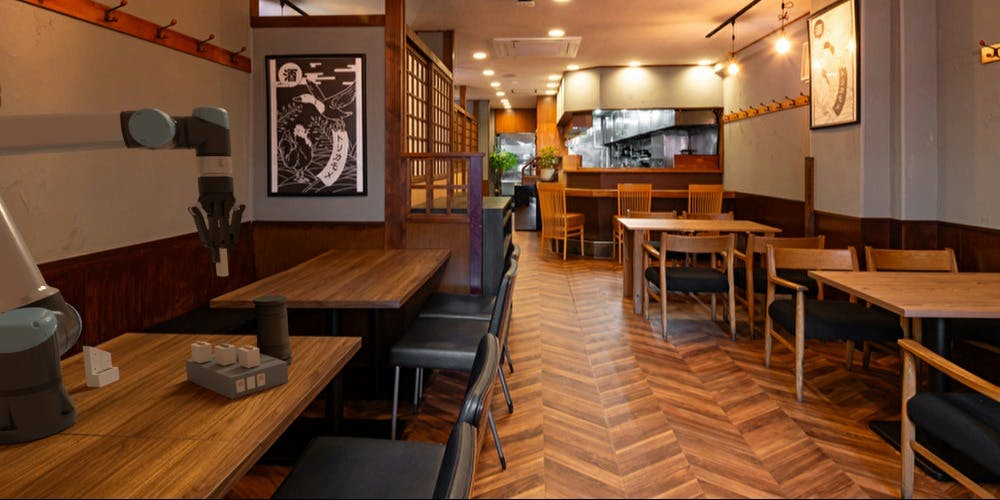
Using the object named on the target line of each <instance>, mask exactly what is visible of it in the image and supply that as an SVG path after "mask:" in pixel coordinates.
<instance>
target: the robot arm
mask: <svg viewBox="0 0 1000 500" xmlns="http://www.w3.org/2000/svg"><path fill="white" fill-rule="evenodd" d="M231 141H232V139H231V128H230V119H229V113H228V111H227V110H226V109H224V108H222V107H217V106H216V107H214V106H203V107H202V106H198V107H197V106H196V107H194V108H193V109H192V111H191V115H188V116H187V115H185V116H183V115H181V116H180V115H179V116H178V115H169V114H167V113H166V112H165V111H163V110H161V109H158V108H154V107H152V108H151V107H150V108H149V107H143V108H141V109H137V110H123V111H122V110H112V111H88V112H87V111H85V112H84V111H83V112H61V113H59V112H58V113H56V112H55V113H34V114H31V113H29V114H10V115H9V114H3V115H1V114H0V157H11V156H25V155H26V156H27V155H42V154H43V155H44V154H45V155H46V154H47V155H48V154H61V153H62V154H63V153H76V152H77V153H79V152H80V153H81V152H93V151H94V152H95V151H96V152H97V151H111V150H112V151H114V150H127V149H132V150H133V149H139V150H146V151H147V150H148V151H157V150H158V151H159V150H160V151H161V150H164V151H166V150H176V151H177V150H188V151H191V150H195V162H196V163H195V164H196V173H197V175H199V177H198V178H197V188H198V189H197V190H198V198H197V202H196V203H195V204H194V205H192V206H188V207H187V211H188V212H189V213H190V215H191V216H192V218H193V221H194V224H195V227H196V230H197V233H198V236H199V239H200V242H201V244H202V247H204V248H209V249H210V251H211V260H212V263H215V267H216V269H215V270H216V276H217V277H222V278H223V277H229V274H230V273H229V263H228V262H230V261H231V257H232V256H231V248H232V247H233V246H234V245H237V244H238V243H239V237H240V231H241V225H242V217H243V214H244V212H245V210H246V208H247V206H246V204H244V203H242V204H241V202H238V201H237V198H236V197H235V194H234V191H235V187H234V178H233V176H231V175H232V174H233V161H232V160H233V158H232V144H231V143H232V142H231ZM8 209H9V208H8V207H7V205H6V204H5V202H4V200H3V197H2V195H0V445H10V444H19V443H20V444H21V443H25V442H30V441H34V440H39V439H43V438H45V437H48V436H52V435H55V434H57V433H60V432H62V431H64V430H66V429H68V428H70V427H71V426H73V425H74V424H75V423H76V422H77V421H78V414H77V408H76V405H75V403H74V402H73V400H72V398H71V397H70V395H69V393H68V391H67V389H66V387H65V386H64V382H63V375H62V374H63V372H62V363H61V362H62V361H61V356H63V354H65V353H66V352H68V351H69V350H70V349H72V348H73V347H74V345H75V344H76V342H78V339H79V337H80V335H81V333H82V328H83V327H82V326H83V324H82V323H83V322H82V318H81V315H80V313H79V312H78V311H77V310H76V309H75V307H74V306H72V305H71V304H69V303H67V302H66V301H65V299H64V297H63V295H62V293H61V291H60V290H59V289H58V288H56V287H52V286H49V285H48V284H47V283H46V281H45V279H44V276H43V274H42V272H41V271H40V268H39V267H38V266H37V265H38V264H37V263H36V261H35V259H34V258H33V256H32V253H31V251H30V250H29V249H30V248H28V245H27V243H26V242H25V240H24V238H23V235H21V232H20V230H19V229H18V226H17V224H16V223H15V221H14V219H13V217H12V215H11V213H10V211H9V210H8ZM231 210H233V211H232V214H231V215H230V213H231ZM203 211H204V212H205V214H206V219H207V223H208V225H207V224H206V220H205V218H204V215H203V213H202V212H203ZM230 217H231V220H230Z"/></svg>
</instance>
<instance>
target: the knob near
mask: <svg viewBox="0 0 1000 500" xmlns="http://www.w3.org/2000/svg"><path fill="white" fill-rule="evenodd" d="M241 347H242V346H241ZM238 352H239V365H241V366H244V367H247V368H250V367H254V366H258V365H260V354H259V348H257V346H254V345H247V344H244V345H243V347H242V348H238Z"/></svg>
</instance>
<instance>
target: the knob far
mask: <svg viewBox="0 0 1000 500" xmlns="http://www.w3.org/2000/svg"><path fill="white" fill-rule="evenodd" d="M190 347H191V359H192V360H193V361H196V362H198V363H203V362H207V361H211V360H213V359H212V353H213V348H212V347H213V346H212V344H211V343H210V342H206V341H200V340H197V341H196V342H195V343H191V345H190Z"/></svg>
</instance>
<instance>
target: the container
mask: <svg viewBox="0 0 1000 500" xmlns="http://www.w3.org/2000/svg"><path fill="white" fill-rule="evenodd" d="M287 301H288V297H287V295H285V294H284V295H283V294H270V295H269V294H268V295H262V296H258V297H255V298H253V300H252V302H253V304H254V308H255V314H254V317H255V329H256V332H255V333H256V348H259V353H261V354H264V355H267V356H270V357H273V358H276V359H279V360H282V361H285V362H287V366H289V365H290V364H292V363H293V359H294V358H293V356H292V350H291V345H290V344H291V342H290V337H289V323H288V310H287V306H288V305H287V304H288V302H287Z"/></svg>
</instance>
